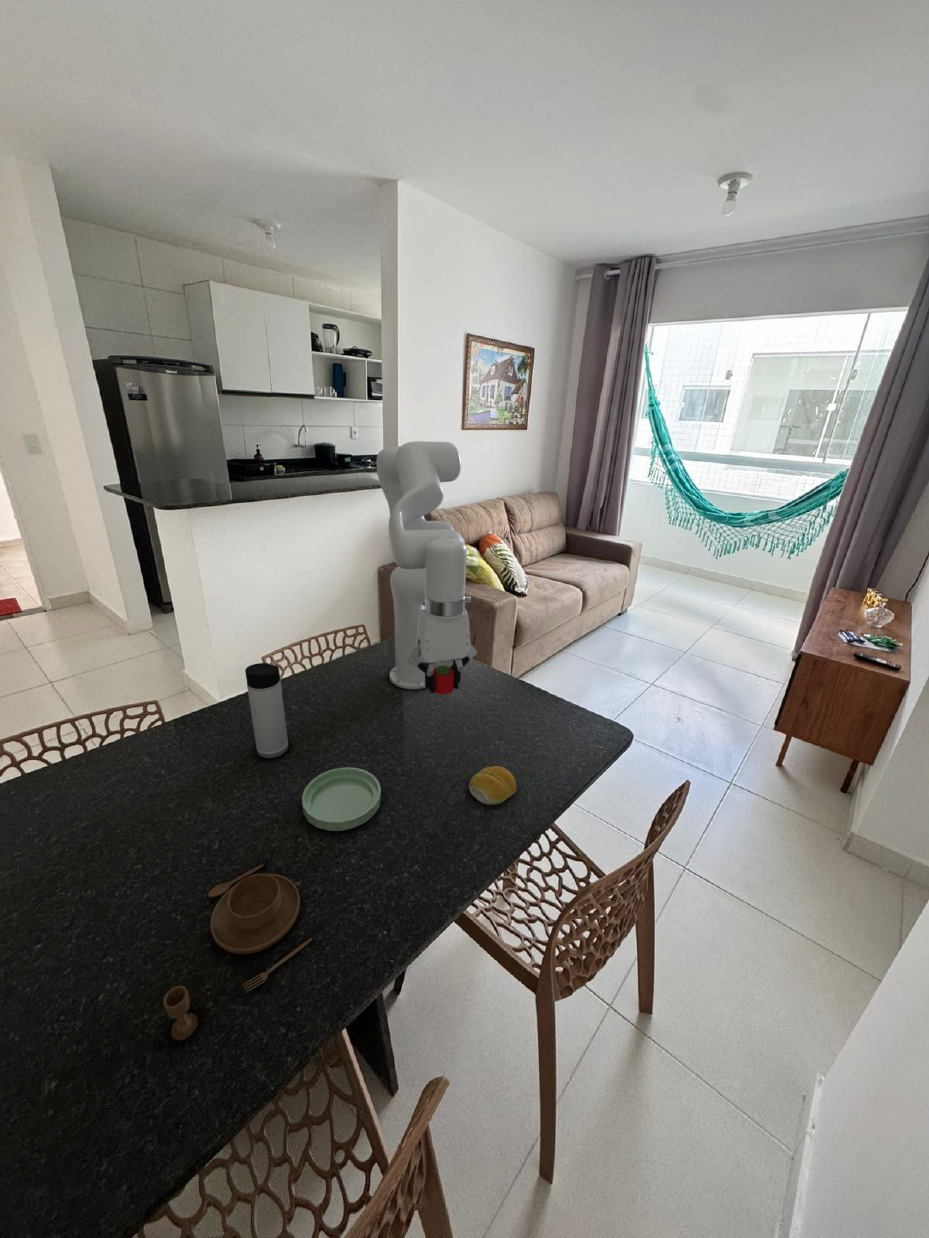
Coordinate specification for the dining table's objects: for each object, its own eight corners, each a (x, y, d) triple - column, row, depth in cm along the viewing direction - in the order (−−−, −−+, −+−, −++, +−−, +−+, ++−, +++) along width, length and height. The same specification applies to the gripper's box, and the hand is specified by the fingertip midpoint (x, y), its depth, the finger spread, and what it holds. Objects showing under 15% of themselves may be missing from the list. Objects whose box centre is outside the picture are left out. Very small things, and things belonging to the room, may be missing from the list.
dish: (300, 786, 98) (299, 775, 97) (373, 771, 103) (373, 761, 102) (306, 841, 86) (304, 830, 85) (387, 822, 91) (387, 811, 90)
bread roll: (523, 789, 100) (525, 772, 99) (493, 812, 94) (495, 796, 93) (491, 768, 105) (492, 752, 104) (461, 789, 99) (462, 773, 98)
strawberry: (429, 685, 105) (429, 665, 104) (449, 681, 107) (449, 662, 105) (435, 695, 102) (436, 675, 100) (456, 692, 103) (457, 672, 101)
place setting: (328, 931, 72) (325, 902, 70) (178, 1050, 59) (168, 1019, 56) (267, 858, 83) (263, 831, 81) (128, 944, 69) (118, 915, 67)
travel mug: (249, 754, 106) (235, 670, 98) (271, 736, 112) (260, 656, 104) (273, 763, 104) (261, 678, 96) (294, 744, 110) (285, 662, 102)
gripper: (477, 594, 103) (473, 673, 110) (396, 602, 97) (397, 685, 104) (493, 607, 97) (487, 690, 104) (406, 617, 91) (407, 704, 98)
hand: (442, 687), depth 104 cm, fingers closed on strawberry, 4 cm apart
